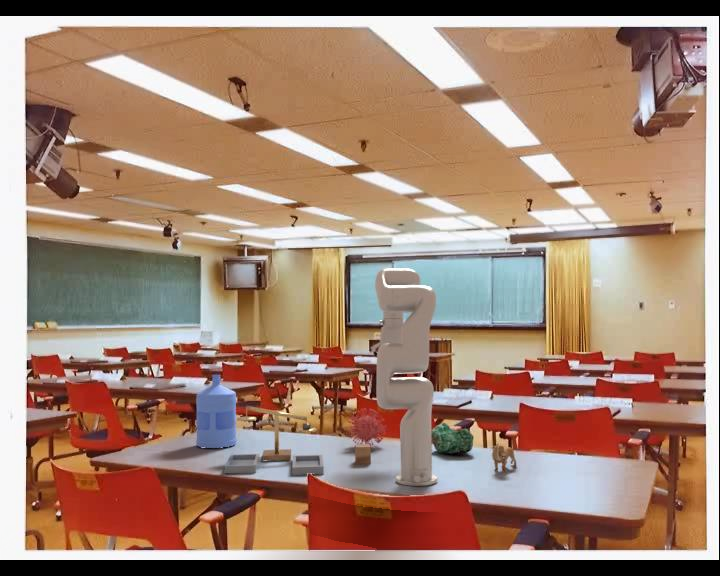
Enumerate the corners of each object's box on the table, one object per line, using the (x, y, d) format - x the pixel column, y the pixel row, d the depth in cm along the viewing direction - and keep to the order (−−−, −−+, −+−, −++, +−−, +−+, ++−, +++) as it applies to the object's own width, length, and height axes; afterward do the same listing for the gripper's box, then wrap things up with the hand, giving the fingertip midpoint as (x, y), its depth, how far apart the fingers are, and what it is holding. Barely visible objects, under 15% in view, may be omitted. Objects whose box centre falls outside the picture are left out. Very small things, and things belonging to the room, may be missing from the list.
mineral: (418, 452, 245) (418, 425, 245) (445, 446, 256) (444, 420, 256) (459, 459, 232) (459, 431, 232) (485, 452, 243) (484, 425, 243)
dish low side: (323, 474, 213) (323, 466, 213) (292, 475, 212) (292, 467, 212) (322, 462, 231) (322, 454, 231) (293, 463, 230) (293, 455, 230)
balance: (316, 459, 235) (316, 405, 235) (235, 462, 232) (235, 407, 233) (316, 453, 245) (315, 402, 245) (238, 456, 242) (238, 404, 243)
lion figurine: (505, 475, 209) (505, 446, 209) (489, 473, 211) (488, 445, 212) (518, 465, 222) (518, 438, 222) (503, 464, 224) (502, 437, 225)
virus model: (371, 442, 266) (371, 404, 267) (393, 447, 254) (393, 408, 255) (340, 446, 258) (340, 408, 259) (362, 452, 246) (361, 412, 247)
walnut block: (370, 464, 227) (370, 446, 227) (356, 464, 226) (356, 447, 227) (369, 461, 232) (369, 443, 232) (355, 461, 231) (354, 444, 232)
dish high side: (255, 472, 216) (255, 465, 216) (224, 473, 215) (224, 466, 215) (259, 460, 234) (259, 453, 234) (230, 461, 233) (230, 454, 233)
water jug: (201, 442, 271) (201, 373, 272) (239, 441, 271) (239, 372, 272) (191, 449, 255) (191, 376, 257) (232, 449, 255) (231, 376, 257)
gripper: (371, 323, 244) (371, 370, 244) (417, 323, 246) (418, 369, 245) (369, 323, 252) (370, 368, 251) (414, 322, 253) (415, 367, 252)
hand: (393, 369), depth 248 cm, fingers open, 9 cm apart
